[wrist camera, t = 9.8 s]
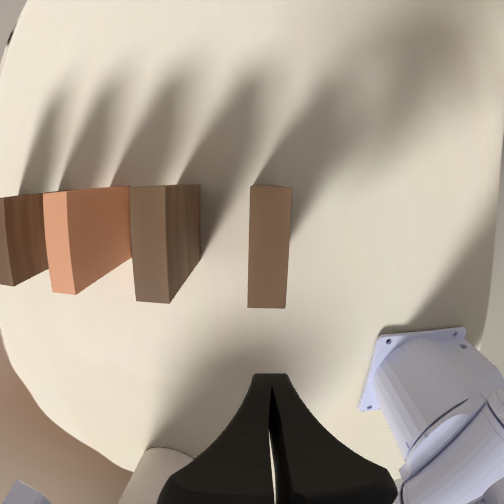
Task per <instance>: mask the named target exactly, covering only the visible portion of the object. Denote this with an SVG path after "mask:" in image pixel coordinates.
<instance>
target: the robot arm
mask: <svg viewBox="0 0 504 504" xmlns="http://www.w3.org/2000/svg"><path fill="white" fill-rule="evenodd" d="M454 332H455V333H454ZM466 332H467V329H466V328H465V327H463V326H462V327H455V328H447V329H438V330H429V331H419V332H407V333H395V334H383V335H380V336H379V337H378V338H377V340H376V343H375V348H374V352H373V356H372V360H371V364H370V368H369V372H368V375H367V379H366V382H365V386H364V389H363V393H362V396H361V400H360V403H359V406H358V408H359V410H360V411H361V412H364V411H371V410H379V409H381V411H382V413H383V415H384V417H385V419H386V421H387V423H388V425H389V428H390V430H391V432H392V434H393V436H394V438H395V440H396V443H397V445H398V447H399V449H400V451H401V453H402V456H403V458H404V460H405V464H404V465H403V466H402V467H401V468H400V469H399V473H400V475H401V477H402V480H403V482H402V483H400V484H399V486H398V487H396V485H395V482H394V480H393V479H392V477H391V475H390V474H389V472H388V470H387V469H386V468H383V467H381V466H379V465H377V464H375V463H373V462H371V461H369V460H367V459H365V458H363V457H361V456H360V455H358V454H356V453H355V452H353V451H352V450H351V449H349V448H348V447H346V446H345V445H344V444H342V443H341V442H340V441H338V440H337V439H336V438H335V437H334V436H333V435H332V434H330V433H329V432H328V431H327V430H326V429H325V428H324V427H323V426H322V425H321V424H320V423H319V422H318V420H317V419H316V418H315V417H314V416H313V415H312V413H311V412H310V411H309V409H308V408H307V407H306V405H305V404H304V403H303V401H302V400H301V398H300V397H299V395H298V394H297V392H296V390H295V389H294V387H293V385H292V383H291V381H290V379H289V377H288V375H287V374H254V375H253V378H252V382H251V385H250V388H249V390H248V393H247V395H246V397H245V399H244V401H243V403H242V405H241V406H240V408H239V410H238V411H237V413H236V414H235V416H234V418H233V419H232V421H231V422H230V423H229V425H228V426H227V427H226V429H225V430H224V431H223V432H222V433H221V435H220V436H219V437H218V438H217V439H216V440H215V441H214V442H213V443H212V444H211V445H210V446H209V447H208V448H207V449H206V450H205V451H204V452H202V453H201V454H200V455H199V456H198V457H196V458H195V459H194V460H193V461H192V462H190V463H189V464H187V465H186V466H184V467H183V468H181V469H180V470H178V471H177V472H175V473H174V474H172V475H170V477H169V478H168V480H167V481H166V483H165V485H164V486H163V488H162V490H161V492H160V494H159V497H158V500H157V504H274V490H273V481H272V470H271V458H270V444H269V433H270V440H271V448H272V455H273V462H274V469H275V484H276V504H504V379H503V376H502V374H501V372H500V371H499V370H498V368H497V367H496V366H495V365H493V364H492V363H491V362H490V361H489V360H488V359H487V358H486V357H485V356H484V355H483V354H481V353H480V352H479V351H478V350H477V349H476V348H475V347H474V346H473V345H471V344H470V343H469V342H468V341H467V340H466V339H465V335H466ZM388 339H390V340H389V341H388V342H386V341H387V340H388ZM2 504H51V502H50V501H49V500H48V499H47V498H46V496H44V495H43V494H42V493H41V492H39V491H38V490H36V489H34V488H32V487H31V486H29V485H27V484H25V483H23V482H22V481H20V480H16V482H15V483H14V485H13V486H12V488H11V489H10V491H9V492H8V494H7V496H6V497H5V499H4V500H3V502H2Z"/></svg>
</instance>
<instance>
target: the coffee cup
mask: <svg viewBox="0 0 504 504" xmlns="http://www.w3.org/2000/svg"><path fill="white" fill-rule="evenodd" d="M193 460H194V459H192V458H191V457H189V456H188V455H186V454H184V453H182V452H179V451H176V450H173V449H168V448H160V447H157V448H150V449H148V450H146V451H145V452H144V454H143V456H142V458H141V460H140V461H139V463H138V465H137V467H136V469H135V471H134V473H133V475H132V477H131V479H130V481H129V483H128V485H127V487H126V489H125V491H124V492H123V494H122V496H121V498H120V500H119V503H118V504H157V500H158V497H159V494H160V492H161V490H162V488H163V486H164V485H165V483H166V481H167V480H168V478H169V477H170V475H172V474H174V473H175V472H177V471H178V470H180V469H181V468H183V467H184V466H186V465H187V464H189V463H190V462H192V461H193Z"/></svg>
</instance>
